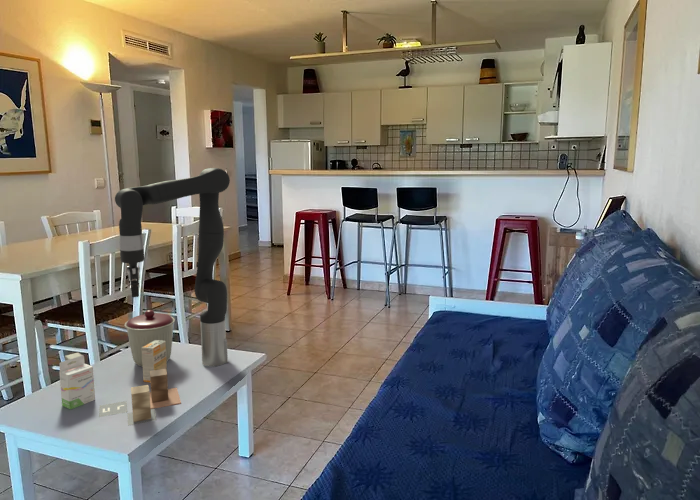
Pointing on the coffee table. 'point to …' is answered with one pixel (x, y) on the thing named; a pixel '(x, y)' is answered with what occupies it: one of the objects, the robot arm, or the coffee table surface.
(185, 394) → the coffee table surface
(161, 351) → the supplement box
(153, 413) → the code tile
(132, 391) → the oak block
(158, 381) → the walnut block
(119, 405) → the code tile
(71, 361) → the skincare box
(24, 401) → the coffee table surface
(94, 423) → the coffee table surface
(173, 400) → the coaster
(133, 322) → the canister
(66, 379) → the ink box
